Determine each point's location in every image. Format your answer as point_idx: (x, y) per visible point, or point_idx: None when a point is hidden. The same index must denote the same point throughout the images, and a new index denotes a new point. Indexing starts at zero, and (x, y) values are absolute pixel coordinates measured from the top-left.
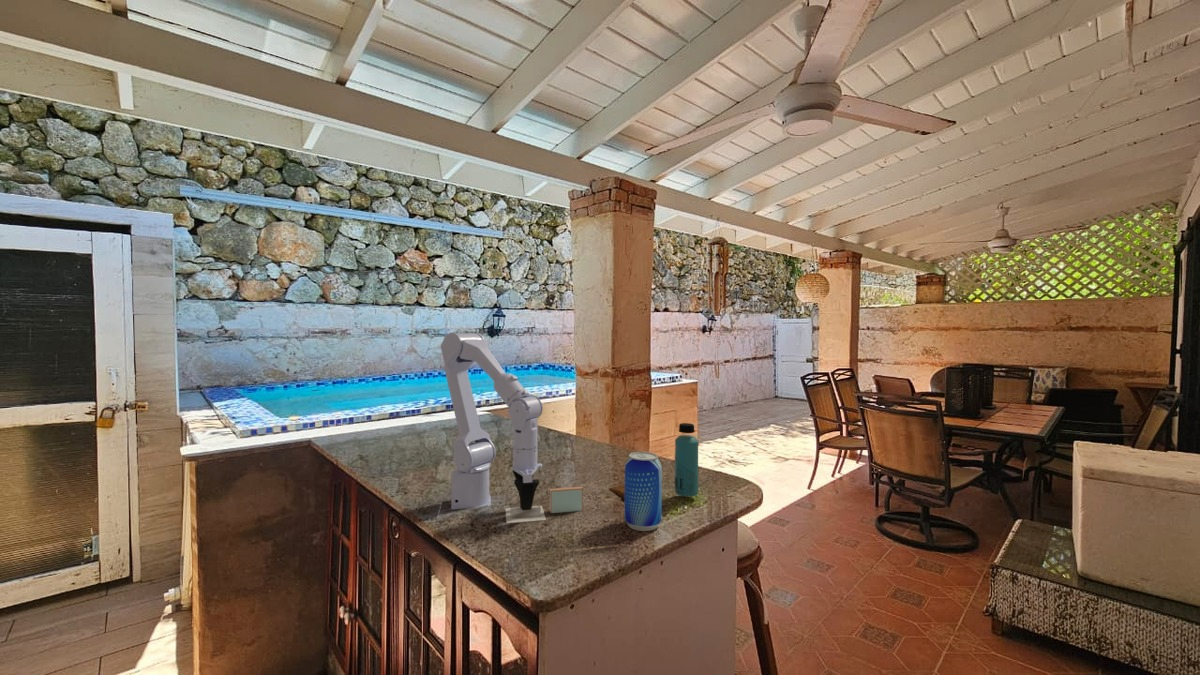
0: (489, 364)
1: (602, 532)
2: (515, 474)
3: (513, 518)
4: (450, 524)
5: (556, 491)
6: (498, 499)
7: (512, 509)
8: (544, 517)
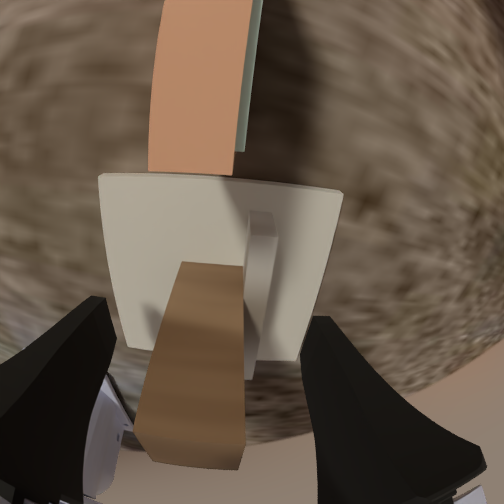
0: None
1: (499, 27)
2: (78, 486)
3: None
4: None
5: (248, 74)
6: (32, 331)
7: (250, 374)
8: (306, 194)
